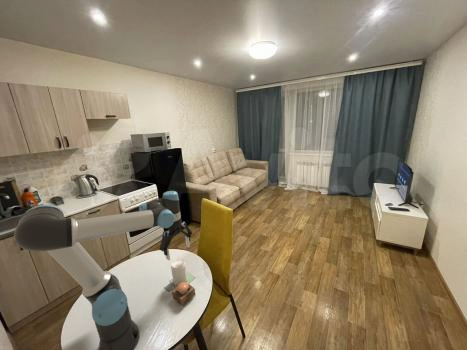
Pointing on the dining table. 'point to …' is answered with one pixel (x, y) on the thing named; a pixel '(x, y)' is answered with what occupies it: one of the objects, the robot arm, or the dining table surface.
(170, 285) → the pad
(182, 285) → the plunger
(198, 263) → the dining table surface
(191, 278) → the pad
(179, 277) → the beverage can
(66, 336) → the dining table surface
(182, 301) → the housing
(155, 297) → the dining table surface
